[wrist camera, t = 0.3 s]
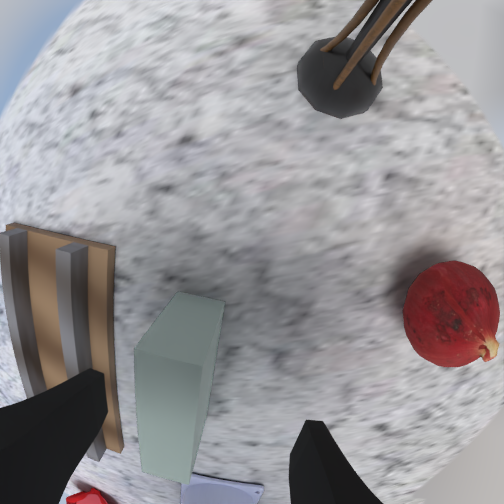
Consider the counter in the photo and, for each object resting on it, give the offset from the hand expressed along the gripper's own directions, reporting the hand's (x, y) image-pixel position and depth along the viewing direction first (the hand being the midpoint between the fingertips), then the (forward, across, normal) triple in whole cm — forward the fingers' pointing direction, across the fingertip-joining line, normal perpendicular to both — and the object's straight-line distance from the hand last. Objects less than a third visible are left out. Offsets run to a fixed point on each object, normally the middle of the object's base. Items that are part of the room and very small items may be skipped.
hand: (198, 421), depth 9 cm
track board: (+10, +13, +8) cm, 18 cm away
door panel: (+10, +2, +4) cm, 11 cm away
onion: (+10, -12, -4) cm, 16 cm away
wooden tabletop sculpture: (+10, -3, -15) cm, 18 cm away
